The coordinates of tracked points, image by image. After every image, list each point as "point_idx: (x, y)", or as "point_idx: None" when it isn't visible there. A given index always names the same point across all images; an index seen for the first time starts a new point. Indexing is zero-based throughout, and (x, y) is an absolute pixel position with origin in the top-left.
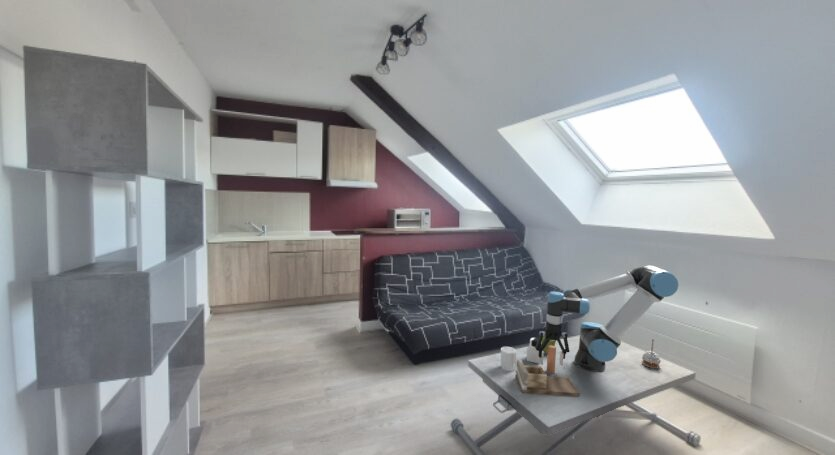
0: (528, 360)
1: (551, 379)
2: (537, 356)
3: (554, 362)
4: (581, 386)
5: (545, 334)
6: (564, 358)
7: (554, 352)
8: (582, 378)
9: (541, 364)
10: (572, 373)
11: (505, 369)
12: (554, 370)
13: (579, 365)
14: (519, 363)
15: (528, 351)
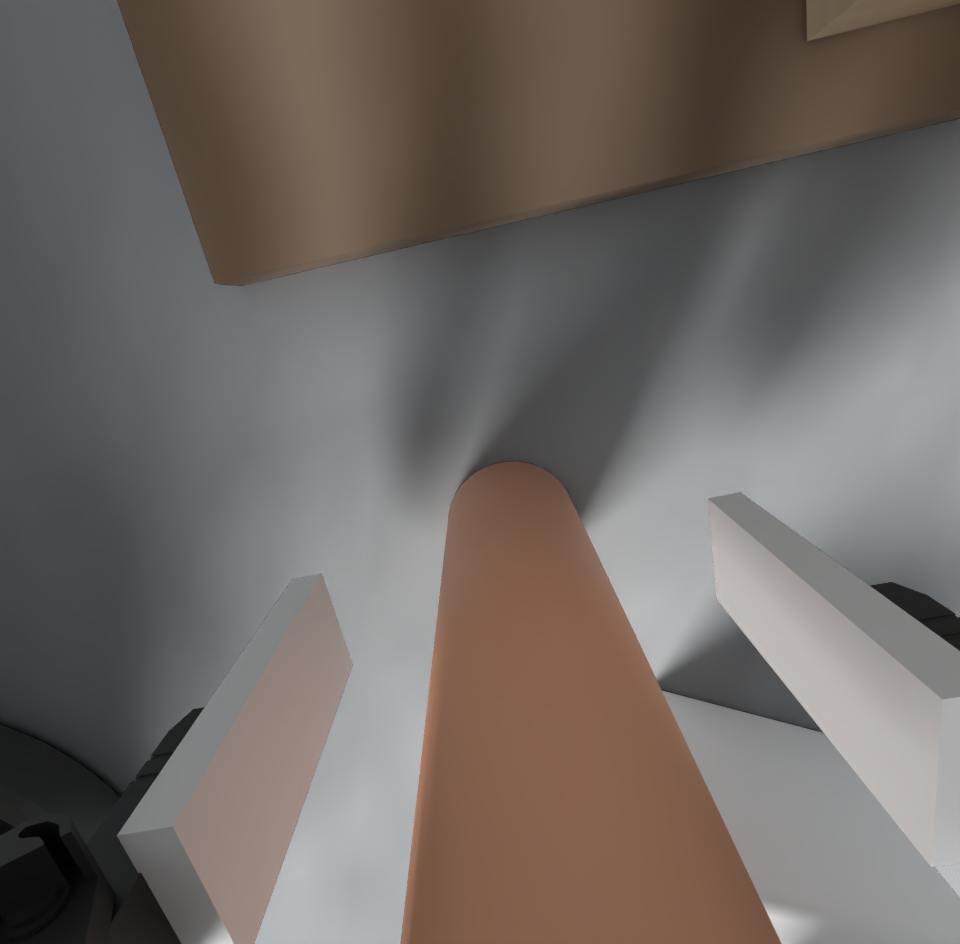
0: (807, 730)
1: (564, 83)
2: (737, 790)
3: (463, 568)
4: (23, 144)
5: None
6: (191, 717)
7: (479, 793)
8: (30, 450)
9: (739, 494)
10: (183, 560)
11: None
12: (457, 504)
13: (80, 786)
14: None
15: (930, 881)
